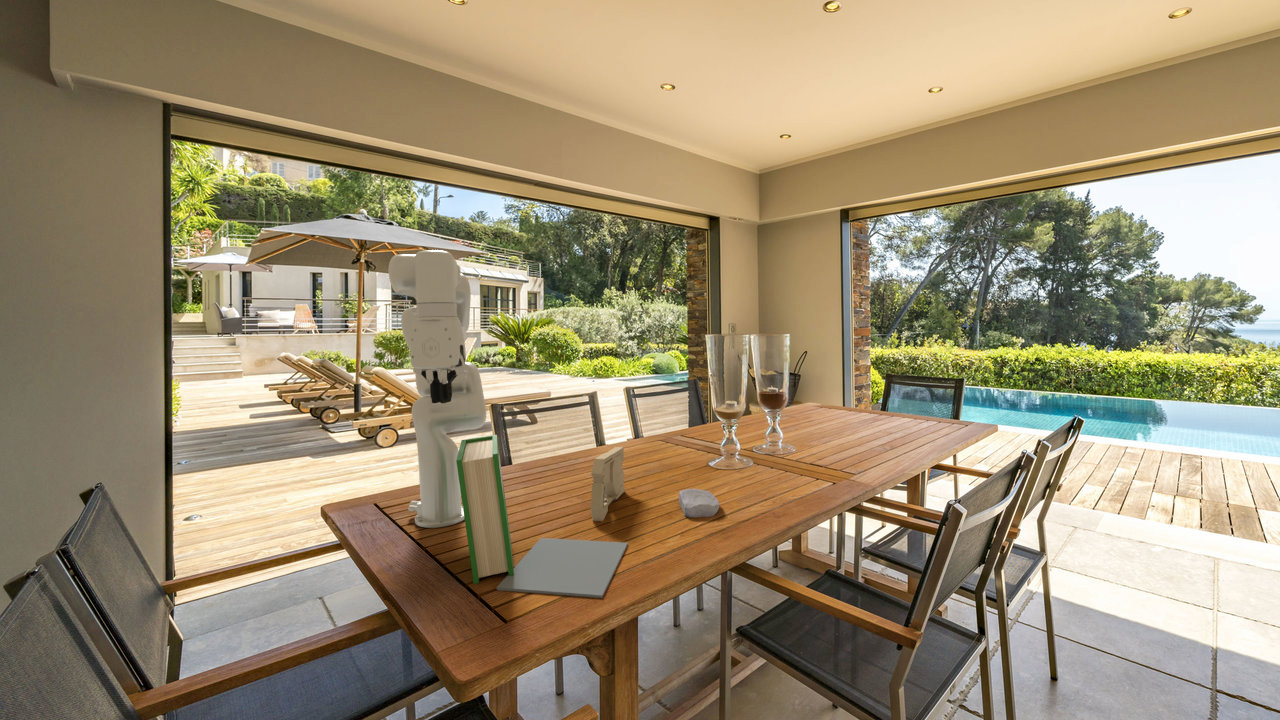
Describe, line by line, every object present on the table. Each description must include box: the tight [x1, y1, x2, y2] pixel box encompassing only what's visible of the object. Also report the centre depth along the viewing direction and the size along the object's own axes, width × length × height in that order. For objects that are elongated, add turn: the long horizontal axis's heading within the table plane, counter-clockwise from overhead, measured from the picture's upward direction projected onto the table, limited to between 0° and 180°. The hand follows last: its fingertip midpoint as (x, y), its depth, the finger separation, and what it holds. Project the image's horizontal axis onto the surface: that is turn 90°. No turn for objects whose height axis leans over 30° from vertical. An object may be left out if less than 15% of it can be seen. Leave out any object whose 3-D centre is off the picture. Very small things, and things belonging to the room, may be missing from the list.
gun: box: [590, 446, 626, 522], centre depth 137 cm, size 24×3×15 cm, turn 168°
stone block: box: [678, 488, 720, 519], centre depth 133 cm, size 12×5×10 cm
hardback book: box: [456, 434, 514, 585], centre depth 105 cm, size 18×7×24 cm, turn 16°
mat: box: [496, 537, 629, 599], centre depth 104 cm, size 20×22×1 cm
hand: (441, 401), depth 106 cm, fingers closed
